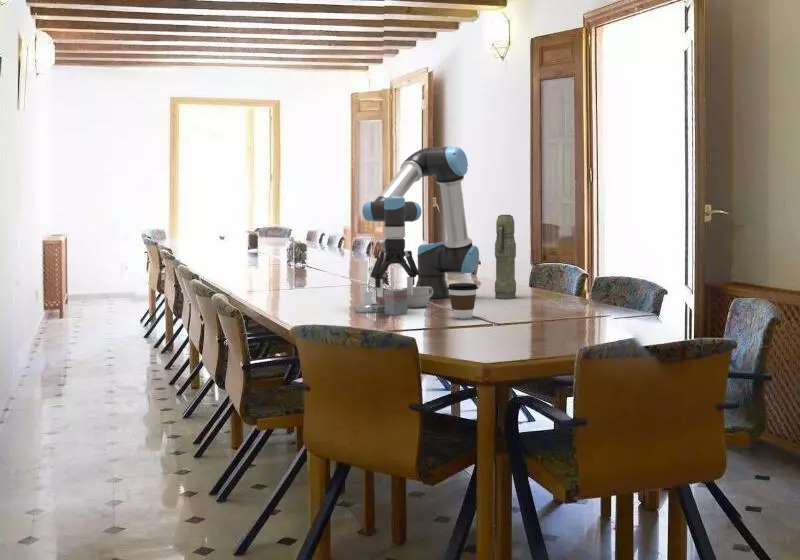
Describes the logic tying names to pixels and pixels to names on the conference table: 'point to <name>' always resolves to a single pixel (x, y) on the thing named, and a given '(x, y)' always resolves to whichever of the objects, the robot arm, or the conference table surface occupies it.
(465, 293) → the coffee cup
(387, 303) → the red-striped grey block
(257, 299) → the conference table surface
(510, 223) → the thermos
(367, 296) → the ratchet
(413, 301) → the teacup
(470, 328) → the conference table surface
